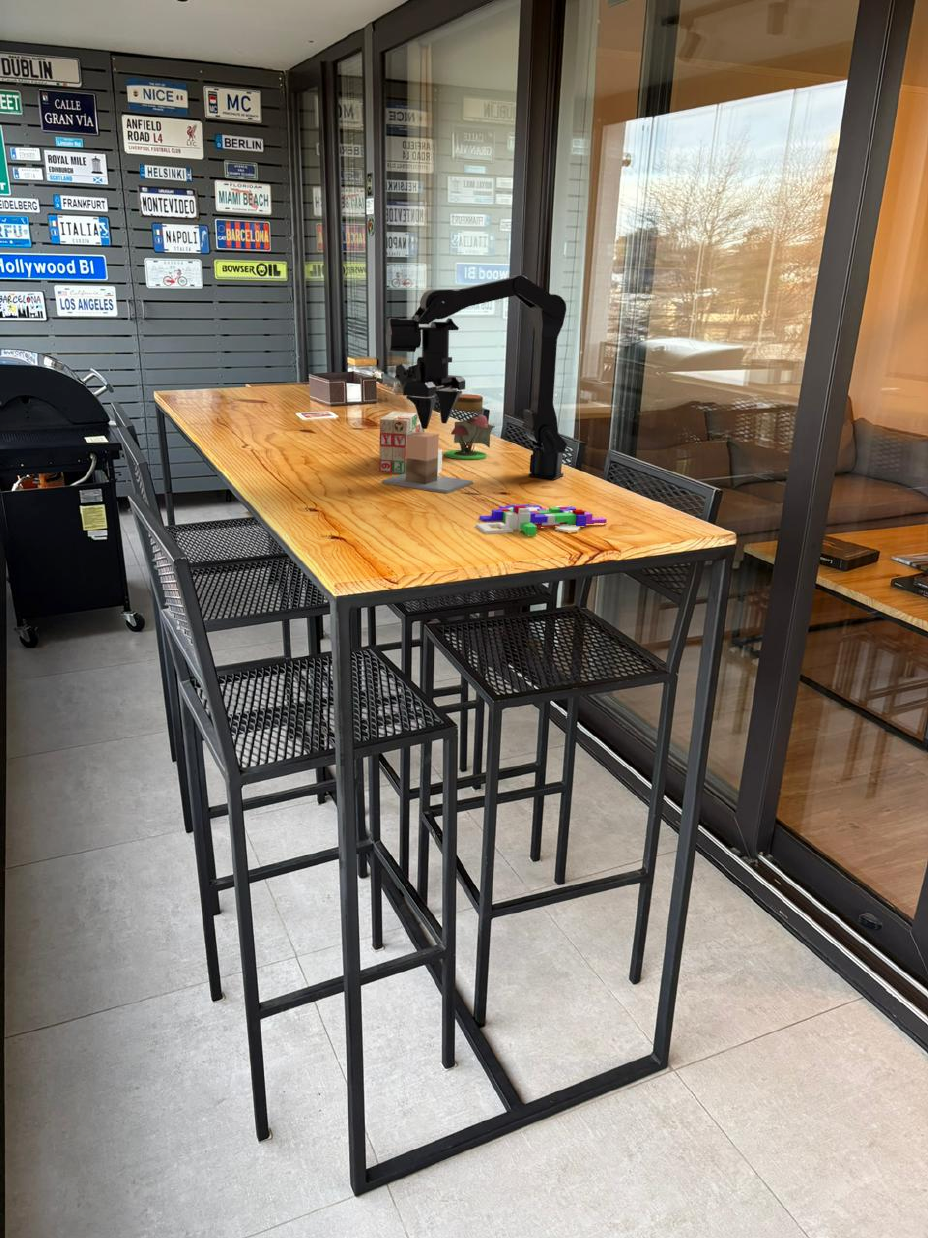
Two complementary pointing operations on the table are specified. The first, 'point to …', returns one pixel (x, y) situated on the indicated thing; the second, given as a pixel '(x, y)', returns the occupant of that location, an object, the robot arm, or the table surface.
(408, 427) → the stack of blocks
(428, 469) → the walnut brick
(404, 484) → the plate
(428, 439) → the terracotta brick
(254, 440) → the table surface
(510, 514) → the building block set
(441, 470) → the offwhite brick
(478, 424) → the plant figurine
